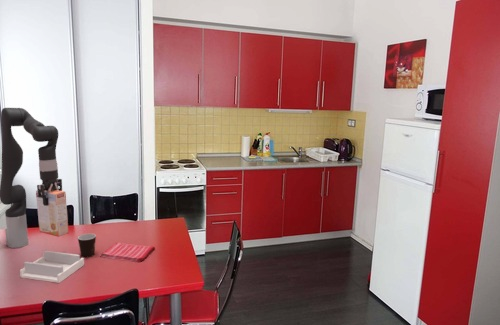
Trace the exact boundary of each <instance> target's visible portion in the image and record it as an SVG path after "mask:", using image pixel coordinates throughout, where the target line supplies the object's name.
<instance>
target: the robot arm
mask: <svg viewBox="0 0 500 325" xmlns="http://www.w3.org/2000/svg"><path fill="white" fill-rule="evenodd" d="M0 124H1V138H2V139H1V141H2V142H1V177H0V202H1V203H2V204H3V205H7V206H9V205H11V206H10V207H8V208H7V209H6V210H5V211H4V213H5V223H6V225H5V226H6V228H5V230H4V231H5V240H6V246H7V247H9V248H12V249H17V248H18V249H19V248H22V247H25V246H27V245H28V244H29V238H28V237H29V235H28V224H27V222H28V221H27V214H26V212H27V211H26V210H27V192H26V188H25V187H24V186H23V185H21V184H15V185H13V184H14V180H15V177H16V175H17V173H19V171H20V170H21V167H22V166H23V163H24V151H23V148H22V147H21V145H20V144H19V143H18V142H17V140H16V139H15V138H14V135H13V131H12V127H21V126H22V127H23V129H24V130H25V132H26V133H28V134H29V135H31V137H32V139H33V140H34V141H35V142H38V143H43V142H44V143H45V142H47V143H46V145H44V146H41V147H39V148H38V150H37V153H38V168H39V169H38V170H39V177H40V178H39V180H41V184H37V185H36V188H37V190H38V197H39V198H43V205H44V206H48V205H49V203H48V193H50V191H51V190H59V191H63V179H62V178H59V167H58V162H57V151H56V150H57V144H58V139H59V130H58V129H57V127H56V126H54V125H45V124H44V123H43V122H41V121H38V120H37V119H35V118H34V117H33V116H32V115H31V114H30V113H29V111H28V110H26V109H24V108H22V107H3V108H2V109H1V113H0ZM37 190H36V191H37ZM45 190H46V191H45ZM41 193H42V195H41ZM45 193H46V195H45Z"/></svg>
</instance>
